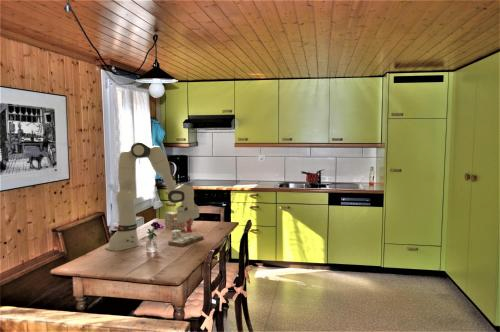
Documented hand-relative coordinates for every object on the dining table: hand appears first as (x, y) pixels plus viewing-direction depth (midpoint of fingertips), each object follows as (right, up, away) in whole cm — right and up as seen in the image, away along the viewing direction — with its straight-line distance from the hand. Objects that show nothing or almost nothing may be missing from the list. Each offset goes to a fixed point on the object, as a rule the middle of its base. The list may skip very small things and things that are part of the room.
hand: (188, 226), depth 274 cm
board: (-1, -10, -2) cm, 11 cm away
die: (-11, -10, +10) cm, 18 cm away
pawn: (0, -4, 0) cm, 4 cm away
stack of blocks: (-17, -8, +37) cm, 42 cm away
